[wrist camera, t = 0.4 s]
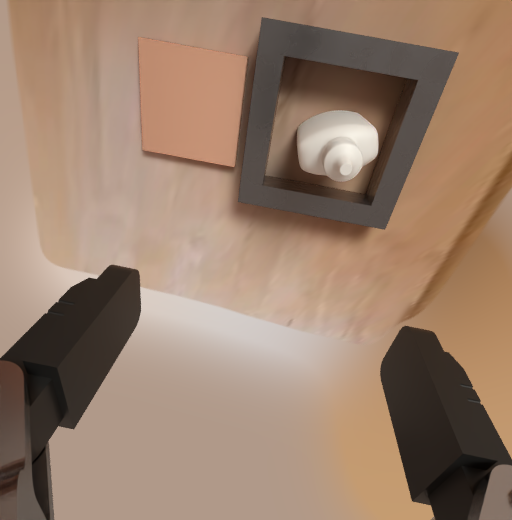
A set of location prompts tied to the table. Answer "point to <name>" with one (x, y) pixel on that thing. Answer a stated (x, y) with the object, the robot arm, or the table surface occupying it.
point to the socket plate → (398, 136)
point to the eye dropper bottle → (336, 144)
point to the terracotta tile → (191, 101)
